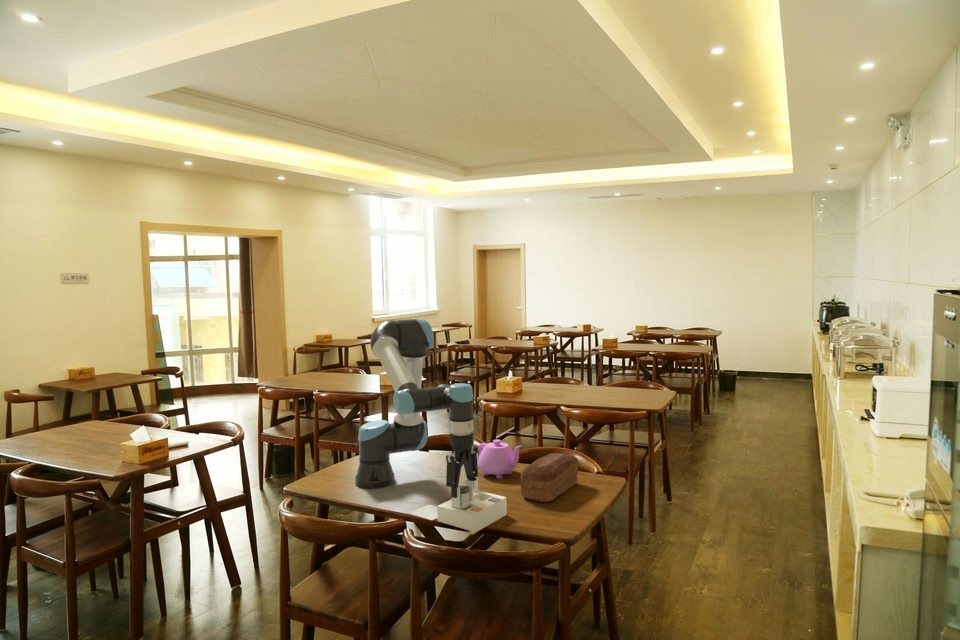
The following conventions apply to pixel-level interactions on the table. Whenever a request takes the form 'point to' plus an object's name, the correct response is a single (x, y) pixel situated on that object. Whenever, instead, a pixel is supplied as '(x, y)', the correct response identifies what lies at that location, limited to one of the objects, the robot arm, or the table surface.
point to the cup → (463, 477)
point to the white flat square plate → (426, 512)
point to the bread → (549, 477)
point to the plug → (464, 498)
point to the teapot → (497, 458)
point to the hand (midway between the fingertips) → (462, 503)
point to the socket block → (474, 512)
